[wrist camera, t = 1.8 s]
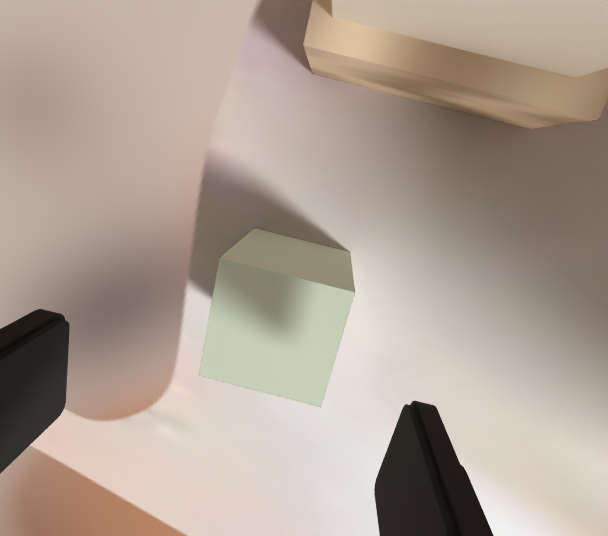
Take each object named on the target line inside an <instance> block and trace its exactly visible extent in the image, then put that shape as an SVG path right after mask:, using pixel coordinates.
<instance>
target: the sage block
mask: <svg viewBox="0 0 608 536" xmlns="http://www.w3.org/2000/svg"><path fill="white" fill-rule="evenodd" d="M354 294H355V288H354V280H353V271H352V263H351V255H350V252H348V251H344V250H340V249H336V248H332V247H328V246H324V245H320V244H316V243H312V242H308V241H304V240H300V239H296V238H292V237H288V236H284V235H280V234H276V233H272V232H268V231H264V230H261V229H257V228H254V229H253V230H252V231H250V232H249V233H248V234H247V235H246V236H245V237H243V238H242V239H241V240H240V241H239V242H238V243H236V244H235V245H234V246H233V247H232V248H231V249H229V250H228V251H227V252H226V253H225V254H223V255H222V256H221V257H220V258H219V263H218V268H217V274H216V280H215V286H214V291H213V297H212V303H211V308H210V314H209V320H208V326H207V331H206V337H205V343H204V349H203V354H202V360H201V366H200V371H199V376H201V377H205V378H209V379H213V380H216V381H220V382H224V383H228V384H232V385H236V386H240V387H244V388H247V389H251V390H255V391H259V392H263V393H267V394H271V395H274V396H278V397H282V398H286V399H290V400H294V401H298V402H302V403H305V404H309V405H313V406H317V407H321V406H322V402H323V399H324V395H325V392H326V389H327V385H328V382H329V379H330V375H331V372H332V368H333V365H334V362H335V358H336V355H337V352H338V348H339V345H340V341H341V338H342V335H343V331H344V328H345V325H346V321H347V318H348V314H349V311H350V308H351V304H352V301H353V298H354Z"/></svg>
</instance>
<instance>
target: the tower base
mask: <svg viewBox="0 0 608 536" xmlns="http://www.w3.org/2000/svg"><path fill="white" fill-rule="evenodd" d="M303 46H304V49H305V52H306V55H307V58H308V61H309V64H310V68H311V71H312V74H315V75H319V76H323V77H327V78H331V79H335V80H339V81H343V82H347V83H351V84H355V85H359V86H363V87H367V88H371V89H375V90H379V91H383V92H386V93H390V94H394V95H398V96H402V97H406V98H410V99H414V100H418V101H422V102H426V103H430V104H434V105H438V106H442V107H446V108H450V109H454V110H458V111H462V112H465V113H469V114H473V115H477V116H481V117H485V118H489V119H493V120H497V121H501V122H505V123H509V124H513V125H517V126H521V127H525V128H529V129H533V128H540V127H548V126H555V125H563V124H571V123H578V122H586V121H593V120H599V118H600V116H601V114H602V112H603V110H604V107H605V105H606V103H607V101H608V68H605V69H602V70H599V71H596V72H593V73H590V74H587V75H584V76H581V77H578V78H572V77H568V76H564V75H560V74H556V73H552V72H548V71H544V70H540V69H536V68H532V67H528V66H524V65H520V64H516V63H512V62H508V61H504V60H500V59H496V58H492V57H488V56H484V55H480V54H476V53H472V52H468V51H464V50H460V49H456V48H453V47H449V46H445V45H441V44H437V43H433V42H429V41H425V40H421V39H417V38H413V37H409V36H405V35H401V34H397V33H393V32H389V31H385V30H381V29H377V28H373V27H369V26H365V25H361V24H357V23H353V22H349V21H345V20H341V19H337V18H333V16H332V0H313V1H312V6H311V11H310V15H309V20H308V25H307V29H306V34H305V39H304V43H303Z"/></svg>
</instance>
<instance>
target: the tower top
mask: <svg viewBox="0 0 608 536" xmlns="http://www.w3.org/2000/svg"><path fill="white" fill-rule="evenodd" d="M332 16H333V18H337V19H341V20H345V21H349V22H353V23H357V24H361V25H365V26H369V27H373V28H377V29H381V30H385V31H389V32H393V33H397V34H401V35H405V36H409V37H413V38H417V39H421V40H425V41H429V42H433V43H437V44H441V45H445V46H449V47H453V48H456V49H460V50H464V51H468V52H472V53H476V54H480V55H484V56H488V57H492V58H496V59H500V60H504V61H508V62H512V63H516V64H520V65H524V66H528V67H532V68H536V69H540V70H544V71H548V72H552V73H556V74H560V75H564V76H568V77H572V78H578V77H581V76H584V75H587V74H590V73H593V72H596V71H599V70H602V69H605V68H608V0H332Z"/></svg>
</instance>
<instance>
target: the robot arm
mask: <svg viewBox="0 0 608 536" xmlns="http://www.w3.org/2000/svg"><path fill="white" fill-rule="evenodd" d="M68 344H69V323H68V322H67V321H65V318H64V316H63V315H62V314H59V313H54V312H51V311H47V310H43V309H38V310H35V311H34V312H32V313H30V314H28V315H26V316H24V317H22V318H20V319H18V320H17V321H15V322H13V323H11V324H9V325H7V326H5V327H3V328H1V329H0V473H1V472H2V471H3V470H4V469H5V468H6V467H7V466H9V465H10V464H11V463H12V462H13V461H14V460H15V459H16V458H17V457H18V456H19V455H20V454H21V453H22V452H23V451H24V450H25V449H26V448H27V447H28V446H29V445H30V444H31V443H32V442H33V441H34V440H35V439H36V438H37V437H39V436H40V435H41V434H42V433H43V432H44V431H45V430H46V429H47V428H48V427H49V426H50V425H51V424H52V423H53V422H54V421H55V420H56V419H57V418H58V417H59V416H60V415H61V413H62V411H63V409H64V407H65V403H66V385H67V366H68V346H69V345H68ZM375 501H376V509H377V516H378V524H379V532H380V536H493V534H492V531H491V529H490V526H489V524H488V522H487V519H486V517H485V515H484V512H483V510H482V508H481V505H480V503H479V501H478V498H477V496H476V494H475V491H474V489H473V487H472V484H471V482H470V479H469V477H468V475H467V472H466V471H465V469H464V467H463V466H461V465H460V463H459V461H458V458H457V456H456V453H455V451H454V449H453V446H452V444H451V441H450V439H449V437H448V434H447V432H446V429H445V427H444V424H443V422H442V420H441V417H440V415H439V412H438V410H437V408H436V406H434V405H430V404H426V403H422V402H418V401H413V402H412V403H411V405H407V404H406V405H405V406H404V407H403V409H402V412H401V414H400V417H399V420H398V422H397V425H396V428H395V430H394V433H393V436H392V438H391V441H390V444H389V446H388V449H387V452H386V454H385V457H384V460H383V462H382V465H381V468H380V470H379V473H378V476H377V478H376V482H375Z"/></svg>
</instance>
